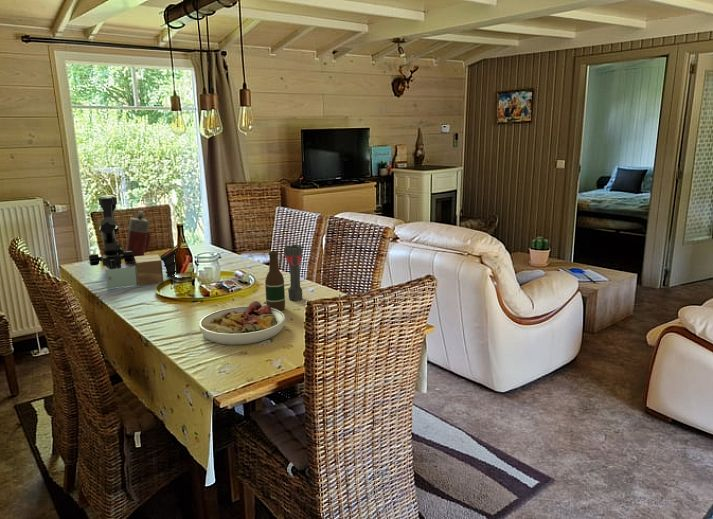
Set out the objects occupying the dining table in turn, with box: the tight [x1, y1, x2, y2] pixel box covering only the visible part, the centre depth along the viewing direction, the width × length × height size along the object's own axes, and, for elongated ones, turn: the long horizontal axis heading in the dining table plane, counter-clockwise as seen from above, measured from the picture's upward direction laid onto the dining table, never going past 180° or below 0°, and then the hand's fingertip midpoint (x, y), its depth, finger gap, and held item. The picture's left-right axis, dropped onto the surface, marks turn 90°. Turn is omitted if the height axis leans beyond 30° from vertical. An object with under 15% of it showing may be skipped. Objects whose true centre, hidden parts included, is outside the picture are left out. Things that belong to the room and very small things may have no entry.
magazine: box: [159, 245, 177, 278], centre depth 272 cm, size 4×13×15 cm, turn 131°
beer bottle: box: [264, 250, 286, 312], centre depth 215 cm, size 8×8×24 cm
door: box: [104, 265, 139, 290], centre depth 250 cm, size 13×2×9 cm, turn 119°
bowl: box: [198, 300, 286, 346], centre depth 193 cm, size 30×30×8 cm
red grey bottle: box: [124, 210, 151, 263], centre depth 300 cm, size 9×11×28 cm
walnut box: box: [134, 254, 164, 286], centre depth 262 cm, size 15×11×11 cm
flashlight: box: [283, 244, 303, 302], centre depth 230 cm, size 8×8×23 cm
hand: (113, 273), depth 249 cm, fingers closed, pressing on door
